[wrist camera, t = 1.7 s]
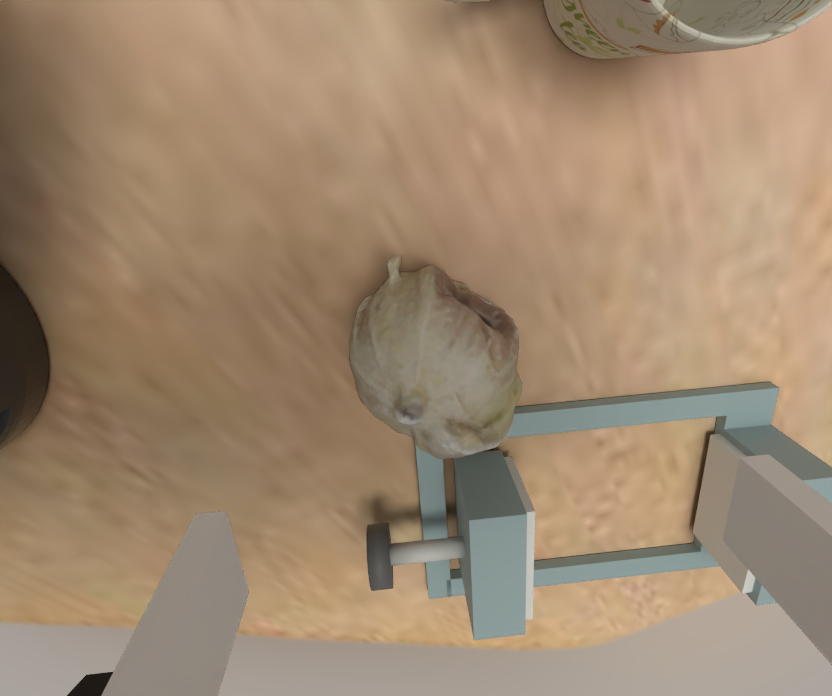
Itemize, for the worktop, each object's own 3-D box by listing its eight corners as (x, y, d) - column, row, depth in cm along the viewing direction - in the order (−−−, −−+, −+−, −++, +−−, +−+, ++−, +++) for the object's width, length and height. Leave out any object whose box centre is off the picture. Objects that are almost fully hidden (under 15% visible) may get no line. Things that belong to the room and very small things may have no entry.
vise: (427, 589, 35) (436, 672, 29) (412, 417, 29) (420, 479, 24) (730, 555, 36) (795, 630, 30) (769, 381, 30) (857, 433, 25)
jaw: (378, 570, 33) (377, 651, 28) (363, 463, 30) (359, 532, 25) (510, 556, 34) (535, 633, 28) (510, 448, 30) (538, 512, 25)
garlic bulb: (477, 357, 31) (546, 488, 24) (344, 377, 29) (373, 526, 22) (495, 218, 25) (596, 336, 17) (329, 233, 23) (363, 372, 16)
